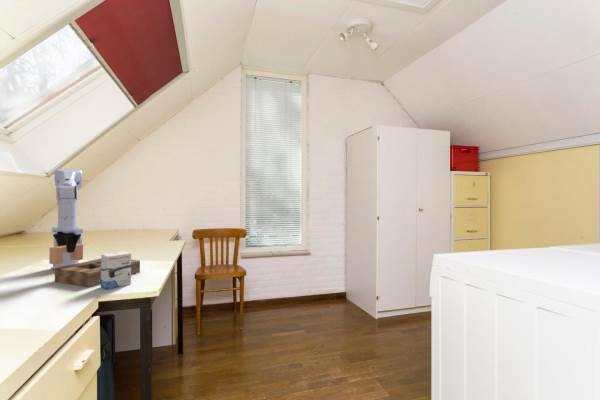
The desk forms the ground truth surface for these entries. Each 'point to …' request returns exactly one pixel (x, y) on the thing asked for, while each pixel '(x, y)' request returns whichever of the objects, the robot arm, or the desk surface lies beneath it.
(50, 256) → the pink notched block
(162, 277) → the desk surface
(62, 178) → the robot arm
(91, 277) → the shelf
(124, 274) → the ink box
